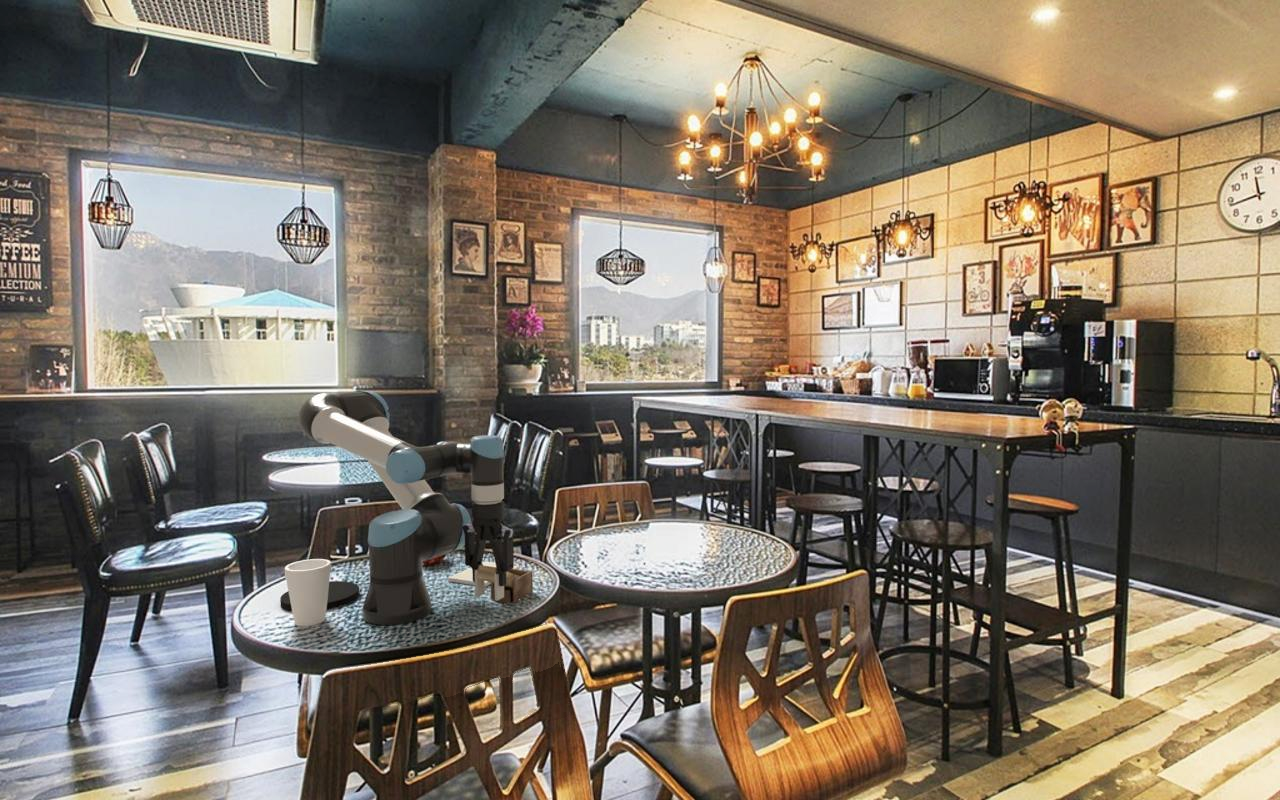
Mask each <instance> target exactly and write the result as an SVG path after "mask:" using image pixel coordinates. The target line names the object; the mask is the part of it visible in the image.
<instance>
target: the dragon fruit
mask: <svg viewBox="0 0 1280 800" xmlns="http://www.w3.org/2000/svg"><path fill="white" fill-rule="evenodd" d="M447 555H448V554H445V555H441V556H438V557H435V558H432V559H429V560H426V561H423V562H422V564H423V565H424V566H426V567H427V566H430V565H432V564H435V563H438V564H439V563H441V562H442V561H443V560H444V559H445V558H446V557H447Z"/></svg>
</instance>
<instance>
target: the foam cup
mask: <svg viewBox="0 0 1280 800" xmlns="http://www.w3.org/2000/svg"><path fill="white" fill-rule="evenodd" d="M331 573H332V562H331V560H329V559H324V558H312V559H302V560H299V561H294V562H292V563H289V564H287V565H286V566H285V567H284V579H285V580H286V585H287V592H288V591H289V597H290V602H291V607H292V612H291V613H292V616H293V617H292V618H293V621H294V625H295V626H298V627H309V626H315V625H318V624H320V623H323V622H325V619H326V616H327V610H326V609H327V599H328V590H329V581H330V580H331V579H330V578H331Z"/></svg>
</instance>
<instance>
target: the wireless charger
mask: <svg viewBox="0 0 1280 800" xmlns="http://www.w3.org/2000/svg"><path fill="white" fill-rule="evenodd" d="M359 596H360V586H359V585H358V584H356V583H355V582H351V581H342V580H341V581H339V580H333V581H332V580H331V581H330V580H329V590H328V599H327V609H326V611H327V610H328V611H329V610H332V609H336V608H340V607H343V606H346V605H348V604H350V603H353V602H354V601H356V600H357V599H358V598H359ZM279 599H280V608H281V609H282V610H284V611H287V612H291V613H292V607H291V602H290V597H289V591H288V590H287V591H286V592H284V593H283V594H282V595H281V596H280V598H279Z"/></svg>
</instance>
